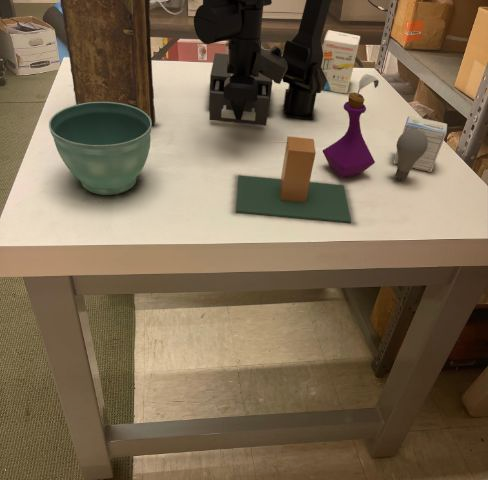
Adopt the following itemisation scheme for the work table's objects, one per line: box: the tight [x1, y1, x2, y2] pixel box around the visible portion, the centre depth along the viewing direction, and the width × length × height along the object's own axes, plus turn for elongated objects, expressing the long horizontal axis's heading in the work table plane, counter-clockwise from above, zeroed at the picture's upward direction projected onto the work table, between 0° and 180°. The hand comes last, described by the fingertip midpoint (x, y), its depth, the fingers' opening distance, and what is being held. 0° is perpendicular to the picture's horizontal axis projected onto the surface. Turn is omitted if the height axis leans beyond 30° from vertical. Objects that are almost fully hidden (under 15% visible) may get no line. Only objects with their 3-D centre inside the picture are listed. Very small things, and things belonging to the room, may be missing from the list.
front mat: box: [235, 174, 352, 224], centre depth 89 cm, size 20×12×1 cm, turn 88°
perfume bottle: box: [322, 73, 380, 179], centre depth 91 cm, size 8×8×18 cm
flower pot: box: [48, 102, 153, 196], centre depth 84 cm, size 16×16×11 cm
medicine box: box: [393, 115, 448, 173], centre depth 100 cm, size 8×4×9 cm, turn 71°
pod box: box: [280, 136, 317, 203], centre depth 86 cm, size 4×5×10 cm
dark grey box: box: [208, 52, 273, 117], centre depth 115 cm, size 15×14×8 cm
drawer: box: [208, 80, 270, 127], centre depth 108 cm, size 18×12×6 cm
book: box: [59, 0, 156, 126], centre depth 96 cm, size 17×7×25 cm, turn 62°
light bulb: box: [394, 129, 428, 181], centre depth 94 cm, size 6×6×10 cm
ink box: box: [321, 29, 361, 94], centre depth 126 cm, size 9×8×12 cm
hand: (238, 119), depth 101 cm, fingers closed
